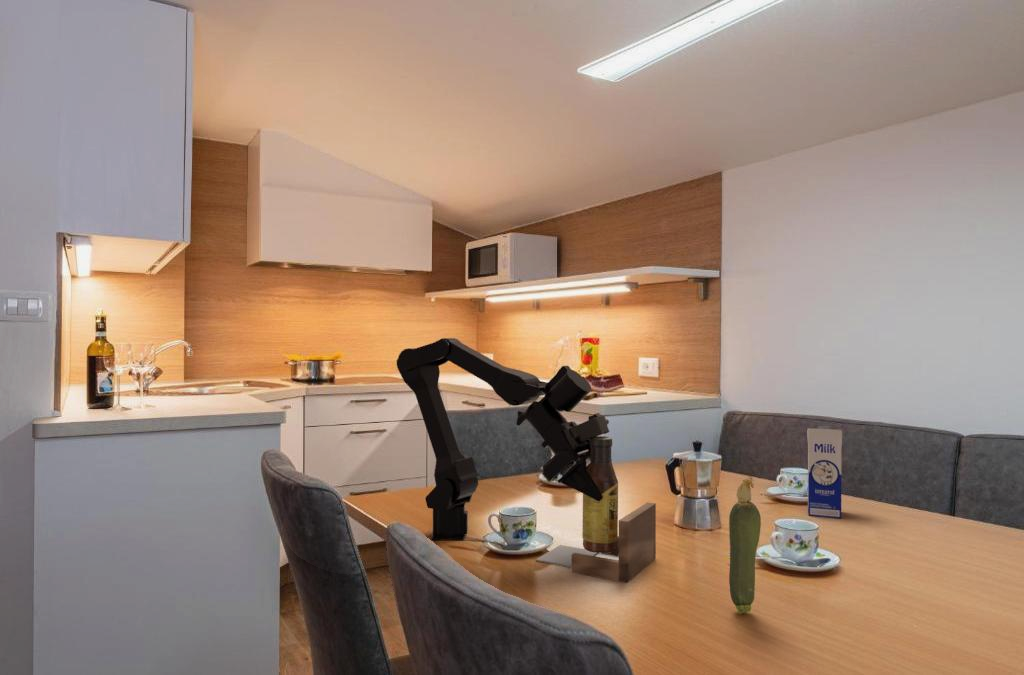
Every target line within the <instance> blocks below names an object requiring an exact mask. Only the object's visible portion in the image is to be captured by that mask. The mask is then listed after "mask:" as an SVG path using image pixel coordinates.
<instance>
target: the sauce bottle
mask: <svg viewBox="0 0 1024 675" xmlns="http://www.w3.org/2000/svg"><path fill="white" fill-rule="evenodd" d="M589 444H590V449H591V451H590V462H591V463H590V464H589V466H588V468H587V469H586V470H587V472H588V474H589V475H590V477H591V478H592V480H593V481H594V483H595V484H596V486H597V487H598V489H599V491H600V492H601V494H602V496H603V498H602V499H601V500H600V501H597V500H595V499H593V498H591V497H589V496H587V495H585V494H583V493H582V540H583V541H582V547H583V549H586V550H587V551H590V552H596V553H598V554H606V553H607V552H612V551H614V550H616V548H617V540H618V536H619V518H618V517H619V481H618V479H617V474H616V472H615V471H616V470H615V469H614V466H613V462H612V460H613V459H612V447H613V438H612V437H610V436H605V435H604V436H602V435H599V436H596V437H591V438H590V443H589Z"/></svg>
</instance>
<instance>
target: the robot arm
mask: <svg viewBox="0 0 1024 675" xmlns="http://www.w3.org/2000/svg"><path fill="white" fill-rule="evenodd" d="M448 362H450V363H452V364H454V365H456V366H457V367H459V368H460V369H462V370H464V371H465V372H468V373H470V374H471V375H473V376H475V377H476V378H478V379H480V380H481V381H483V382H485V383H486V384H488V385H489V386H490V387H491V388H492V390H493V391H494V392H495V394H496V395H497V396H498V397H500V399H502V400H503V401H504V402H505V403H507V404H508V405H510V406H515V407H516V406H522V405H529V404H530V405H529V406H528V407H526V408H525V410H518V411H517V418H516V426H517V427H519V426H524V425H527V424H530V426H531V427H532V428H533V430H534V431H535V432H536V433H537V434H538V436H539V437H540V438H541V439H542V442H541V444H540V445H541V446H542V448H543V449H546V448H548V449H549V450H550V451H551V452H552V454H553V456H552V457H551V458H550V459H549V460H548V461H547V462H545V464H543V466H542V468H541V469H542V472H541V473H542V476H543V477H544V478H545V479H546V481H547V483H552V482H554V481H557V483H559V484H563V485H564V486H567V487H570V488H571V489H574V490H576V491H577V492H580V493H581V494H582V495H583V494H585V495H587V496H589V497H591V498H593V499H595V500H597V501H600V500H601V499H602V498H603V496H602V494H601V492H600V491H599V489H598V487H597V486H596V484H595V483H594V481H593V480H592V478H591V477H590V475H589V474H588V472H587V470H586V469H587V468H588V466H589V464H590V463H591V462H590V451H591V449H590V444H589V443H590V438H591V437H596V436H602V435H606V434H608V433H610V429H609V427H608V425H609V422H610V421H609V420H608V419H607V418H606V417H605V415H602V414H600V413H599V412H596V413H594V414H592V415H589V416H588V420H586V421H584V422H581V423H579V424H577V423H576V421H573V420H571V421H568V420H567V419H566V418H565V416H563V414H562V412H566V413H567V412H568V413H570V412H572V411H573V410H574V409H575V408H576V406H578V405H579V404H580V403H581V402H582V401H583V399H584V398H586V397H587V396H588V395H589V394H590V393H591V392H592V387H591V386H592V385H591V384H590V382H589V381H588V380H587V379H586V378H585V376H582V375H581V374H580V373H578V372H577V371H575V370H573V369H572V368H571V367H570V366H569V365H562V366H561V367H559V369H558V371H557V372H556V374H555V375H554V376H553V377H552V378H551V379H550V380H549V381H548V382H546V381H541V380H540V379H539V378H538V377H537V376H536V375H535V374H532V373H529V372H527V371H523V370H520V369H517V368H511V367H508V366H504V365H502V364H500V363H499V362H496V361H495V360H493V359H491V358H489V357H488V356H486V355H484V354H482V353H480V352H479V351H477V350H475V349H473V348H471V347H469V346H468V345H466V344H464V343H462V342H461V340H460V339H458V338H456V337H451V338H449V337H447V338H446V337H443V338H440V339H438V340H436V341H434V342H431V343H428V344H425V345H422V346H419V347H416V348H411V347H410V348H404V349H403V350H402V351H401V352H400V353H399V354H398V358H397V359H396V367H397V371H398V372H399V374H400V377H401V378H402V381H403V382H404V383H405V384H406V386H407V387H409V388H410V390H411V391H412V392H413V393H414V396H415V398H416V401H417V404H418V407H419V410H420V413H421V416H422V419H423V422H424V426H425V428H426V432H427V434H428V438H429V441H430V444H431V447H432V448H431V449H432V450H433V452H434V456H435V467H434V474H433V476H434V483H435V487H434V488H433V489H432V490H430V492H428V494H427V495H426V496H425V503H426V507H427V509H432V534H431V540H436V541H437V540H438V541H439V540H443V541H444V540H445V541H447V540H456V541H457V540H458V541H459V540H461V541H462V540H465V537H466V535H467V534H468V532H469V512H468V510H466V504H467V503H470V502H471V500H472V496H473V495H474V494H475V492H476V490H477V489H478V486H479V480H478V477H479V476H480V474H479V472H478V471H477V469H476V467H475V465H476V464H475V461H474V459H473V457H472V456H469V457H465V456H464V455H463V453H461V451H460V450H459V446H458V443H457V440H456V438H455V434H454V431H453V429H452V425H451V422H450V419H449V416H448V414H447V409H446V408H445V404H444V401H443V398H442V396H441V391H440V389H439V379H440V372H441V371H440V367H439V366H443V365H445V364H447V363H448ZM542 396H543V397H542ZM540 397H542V398H541V399H540V400H539V401H538V399H539V398H540ZM559 474H560V476H561V477H559V479H558V475H559Z"/></svg>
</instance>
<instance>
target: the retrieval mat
mask: <svg viewBox="0 0 1024 675" xmlns="http://www.w3.org/2000/svg"><path fill="white" fill-rule="evenodd" d="M573 553H579V554H584V555H590V556H596V557H597V555H598V554H599V553H596V552H590V551H587V550H586V549H584V548H580V547H576V546H575V547H573V546H567V545H564V544H563V545H562V544H560V545H558V546H556V547H554V548H553V549H551V550H550V551H548V552H546V553H544V554H543V555H541V556H539V557H537V558H536V559H535V562H540V563H545V564H550V565H555V566H561V567H567V568H571V569H572V554H573Z"/></svg>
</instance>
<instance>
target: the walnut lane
mask: <svg viewBox="0 0 1024 675" xmlns="http://www.w3.org/2000/svg"><path fill="white" fill-rule="evenodd" d="M656 507H657V504H656V503H655V502H646V503H644V504H643V505H641V506H639V507H638V508H636V509H635V510H633V511H631V512H630V513H628V514H627V515H625V516H624V517H622V518H620V519H618V540H617V548H616V550H614V551H612V552H607V553H609V554H614V555H618V559H613V558H612V559H611V558H607V557H601V556H597V555H596V556H590V555H584V554H579V553H573V554H572V568H571V573H573V574H580V575H586V576H590V577H594V578H602V579H605V580H611V581H617V582H622V583H629V582H631V581H632V580H633V579H634V578H636V577H637V575H639V574H640V573H641V572H642V571H643V570H644V569H645V568H647V567H648V566H649V565H650V564H651V563H653V561H655V559H656V554H657V553H656V548H657V547H656V544H657V542H656V540H657V537H656V536H657V535H656V533H657V532H656V530H657V528H656V527H657V525H656V524H657V522H656V521H657V512H656V511H657V509H656Z"/></svg>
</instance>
